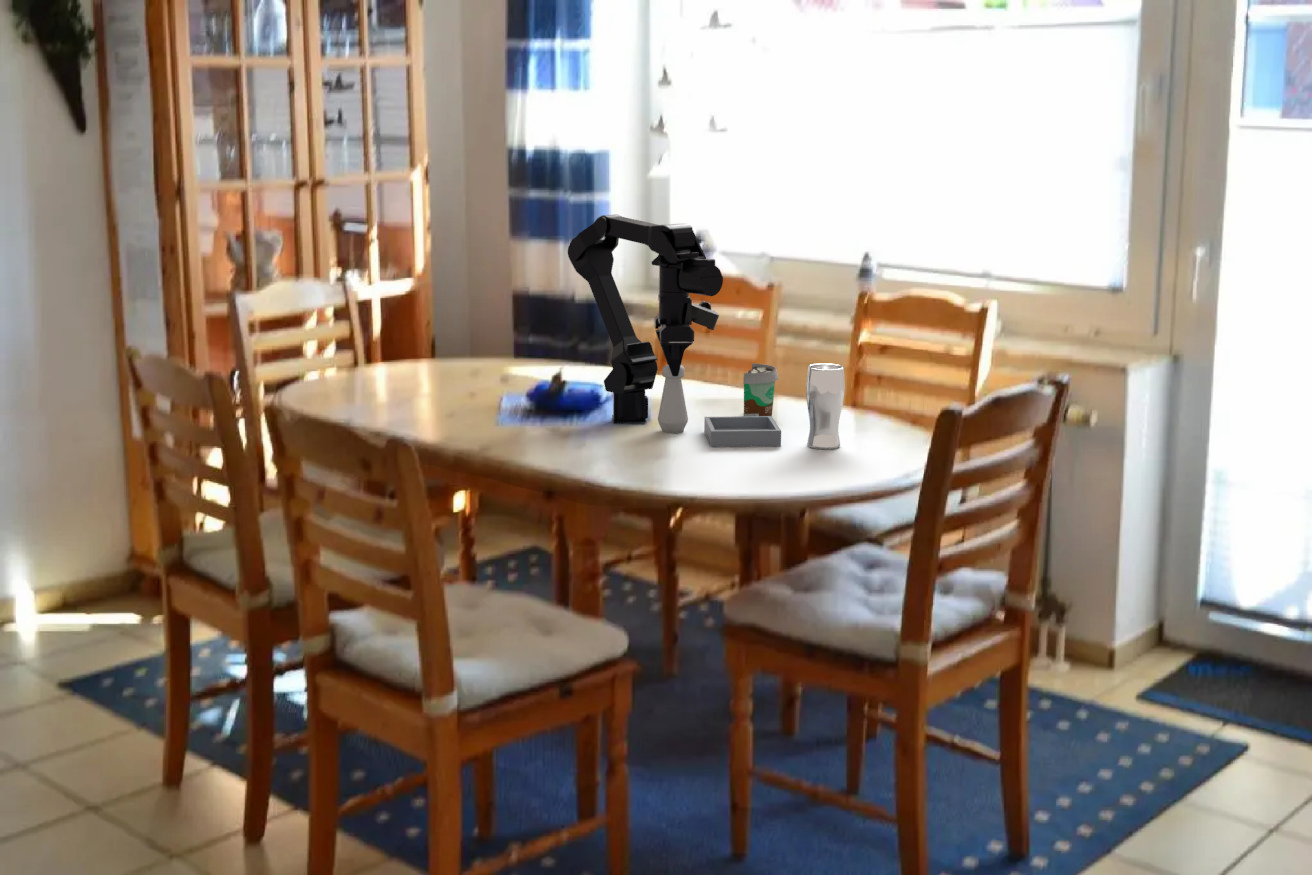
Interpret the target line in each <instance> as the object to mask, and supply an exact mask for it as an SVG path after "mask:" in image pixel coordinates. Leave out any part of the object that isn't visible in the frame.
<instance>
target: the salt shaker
mask: <svg viewBox="0 0 1312 875" xmlns="http://www.w3.org/2000/svg"><path fill="white" fill-rule="evenodd" d="M661 371H662V372H661V374H662V377H664V385H663V389H662V393H661V401H660V406H659V410H658V414H657V421H658V424H659V426H660V429H661V432H663V433H666V434H679V433H680V434H681V433H684V431H685V428H686V426H687V423H688V421H689V415H688V411H687V410H688V409H687V405H686V399H685V392H684V389H683V383H682V379H683V378H684V377H685V373H686V370H685V367H684V365H682V364H681V366H680V370H679V375H678V376H672V373H671V371H670V368H669V365H668V364H666V365H664V366H663V367H662V370H661Z"/></svg>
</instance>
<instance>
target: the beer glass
mask: <svg viewBox="0 0 1312 875" xmlns="http://www.w3.org/2000/svg"><path fill="white" fill-rule="evenodd" d="M844 370H845V368H844V366H843V365H840V364H835V363H813V364H809V365H808V366H807V375H806V385H805V386H806V390H805V391H806V394H805V395H806V404H807V405H806V406H807V411H808V418H809V434H808V438H807V442H806V445H807V447H808V448H810V449H814V450H822V451H823V450H835V449H836V450H837V449H839V448H840V447H841V442H840V440H841V439H840V435H839V433H840V432H839V427H840V425H839V424H840V419H841V414H842V409H843V403H844V398H845V372H844Z"/></svg>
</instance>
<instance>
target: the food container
mask: <svg viewBox="0 0 1312 875" xmlns="http://www.w3.org/2000/svg"><path fill="white" fill-rule="evenodd" d="M779 379H780V378H779V374H778V370H777V368H776V367H775V366H773V365H769V364H763V363H753V362H752V363H751V369H749V370H748V371H747V372H745V373H743V416H772V417H773V407H774V398H775V397H774V396H775V387H776V386H775V385H776V382H777V381H778V380H779Z"/></svg>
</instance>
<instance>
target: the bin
mask: <svg viewBox="0 0 1312 875" xmlns="http://www.w3.org/2000/svg"><path fill="white" fill-rule="evenodd" d="M703 421H704V432H703V433H704V434H705V435H704V436H706V438H707V441H708V443H709V445H710V447H711V448H742V447H743V448H747V447H748V448H752V447H755V448H756V447H757V448H758V447H759V448H760V447H761V448H764V447H765V448H766V447H775V448H777V447H781V446H782V429H781V428H780V427H779V425H778V424H777V422H776V421H775V418H774V417H773V415H772V416H744V415H743V416H741V415H739V416H736V415H735V416H704V420H703Z"/></svg>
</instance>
